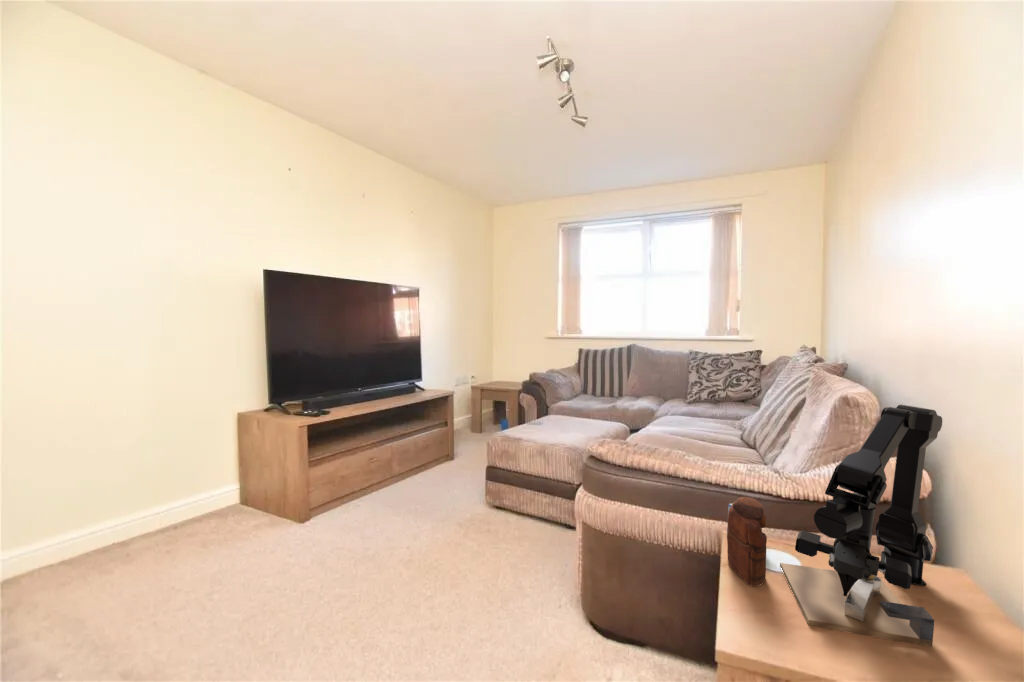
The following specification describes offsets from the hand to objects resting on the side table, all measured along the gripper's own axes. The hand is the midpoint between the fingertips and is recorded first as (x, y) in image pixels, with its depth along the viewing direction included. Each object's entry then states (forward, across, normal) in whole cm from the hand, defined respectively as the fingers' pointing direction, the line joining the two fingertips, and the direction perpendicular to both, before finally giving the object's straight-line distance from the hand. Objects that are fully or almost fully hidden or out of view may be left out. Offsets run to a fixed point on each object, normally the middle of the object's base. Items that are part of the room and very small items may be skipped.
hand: (845, 595), depth 94 cm
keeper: (+2, +10, -3) cm, 10 cm away
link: (+1, +3, +3) cm, 4 cm away
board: (+3, 0, +2) cm, 4 cm away
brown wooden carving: (+4, -19, +1) cm, 19 cm away
